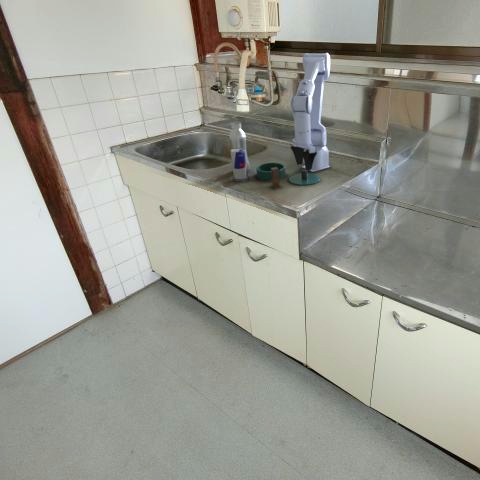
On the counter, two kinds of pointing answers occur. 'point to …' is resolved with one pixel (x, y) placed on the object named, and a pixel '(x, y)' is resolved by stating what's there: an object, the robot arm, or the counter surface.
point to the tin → (269, 170)
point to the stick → (275, 177)
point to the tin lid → (304, 178)
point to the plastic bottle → (239, 140)
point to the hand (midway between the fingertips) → (304, 166)
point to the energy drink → (239, 164)
